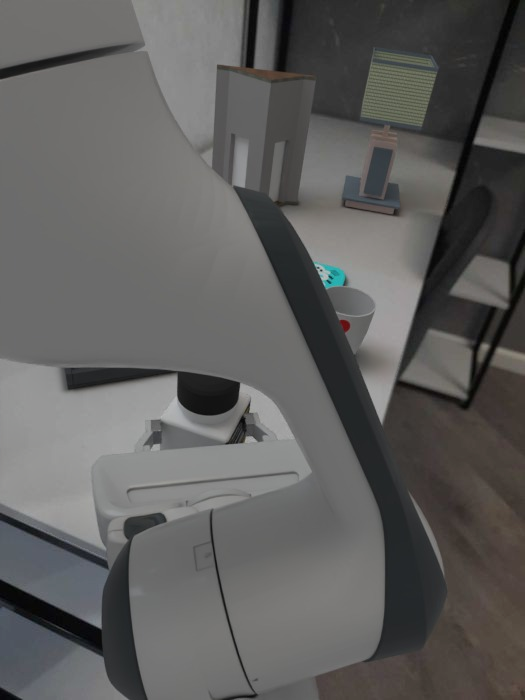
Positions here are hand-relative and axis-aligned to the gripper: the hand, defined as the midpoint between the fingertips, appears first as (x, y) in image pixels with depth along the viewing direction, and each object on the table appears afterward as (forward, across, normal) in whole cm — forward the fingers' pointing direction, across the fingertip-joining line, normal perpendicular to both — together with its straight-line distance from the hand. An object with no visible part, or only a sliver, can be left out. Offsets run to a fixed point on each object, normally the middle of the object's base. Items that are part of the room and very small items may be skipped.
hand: (201, 420), depth 51 cm
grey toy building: (+79, -23, +11) cm, 83 cm away
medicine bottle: (+1, -1, +7) cm, 7 cm away
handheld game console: (+46, -25, +11) cm, 53 cm away
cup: (+22, -24, +11) cm, 34 cm away
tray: (+28, 0, +11) cm, 30 cm away
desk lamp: (+84, -54, +11) cm, 100 cm away
